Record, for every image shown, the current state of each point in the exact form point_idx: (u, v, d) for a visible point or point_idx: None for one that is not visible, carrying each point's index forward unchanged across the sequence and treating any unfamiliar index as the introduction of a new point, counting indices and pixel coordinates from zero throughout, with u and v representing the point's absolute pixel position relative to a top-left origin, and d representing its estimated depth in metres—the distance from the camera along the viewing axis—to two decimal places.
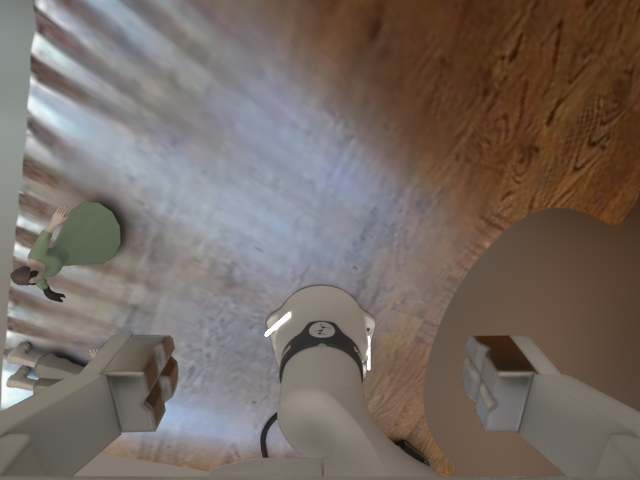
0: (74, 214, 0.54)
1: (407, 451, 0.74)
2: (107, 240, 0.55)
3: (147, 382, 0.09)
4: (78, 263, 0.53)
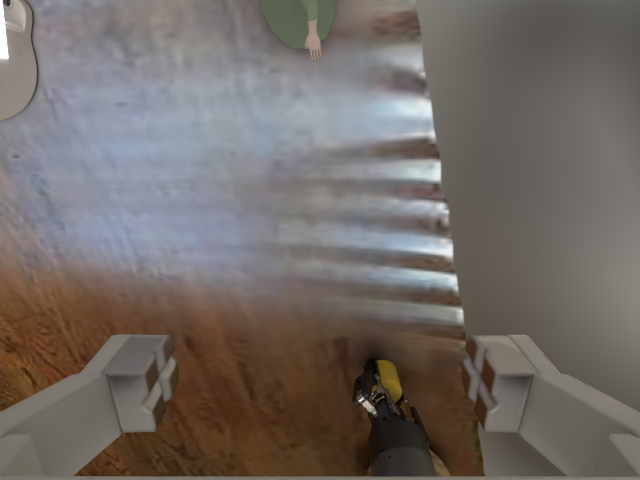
0: (322, 22, 0.39)
1: None
2: (269, 9, 0.38)
3: (147, 382, 0.09)
4: None
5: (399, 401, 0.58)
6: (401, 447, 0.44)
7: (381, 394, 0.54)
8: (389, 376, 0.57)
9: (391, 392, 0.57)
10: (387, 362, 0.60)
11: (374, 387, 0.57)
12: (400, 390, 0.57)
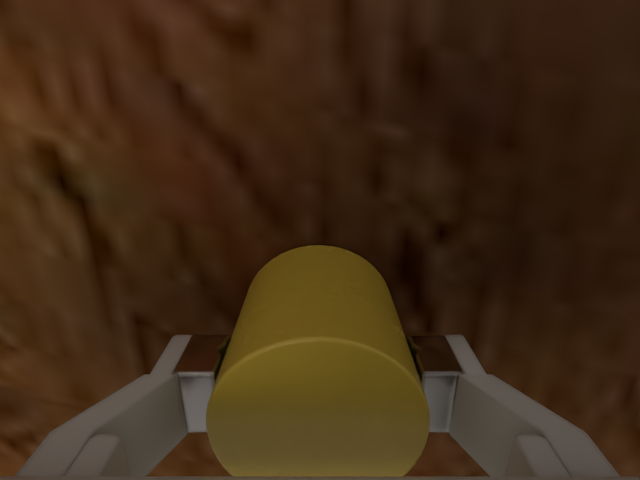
0: None
1: None
2: None
3: None
4: None
5: None
6: None
7: None
8: (224, 359, 0.09)
9: (319, 404, 0.08)
10: (252, 284, 0.11)
11: None
12: (318, 348, 0.07)
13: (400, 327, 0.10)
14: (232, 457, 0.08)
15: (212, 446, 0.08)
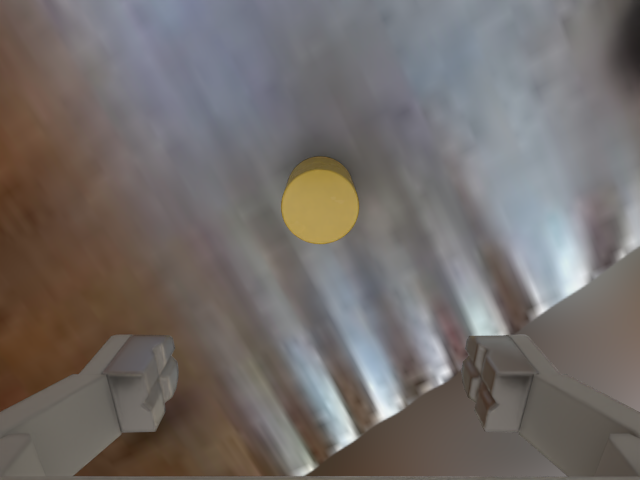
0: None
1: None
2: None
3: (147, 382, 0.09)
4: None
5: None
6: None
7: None
8: (286, 186, 0.24)
9: (320, 195, 0.23)
10: (291, 173, 0.27)
11: (295, 231, 0.24)
12: (320, 173, 0.22)
13: (352, 181, 0.25)
14: (289, 219, 0.23)
15: (283, 214, 0.23)
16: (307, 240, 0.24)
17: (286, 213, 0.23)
